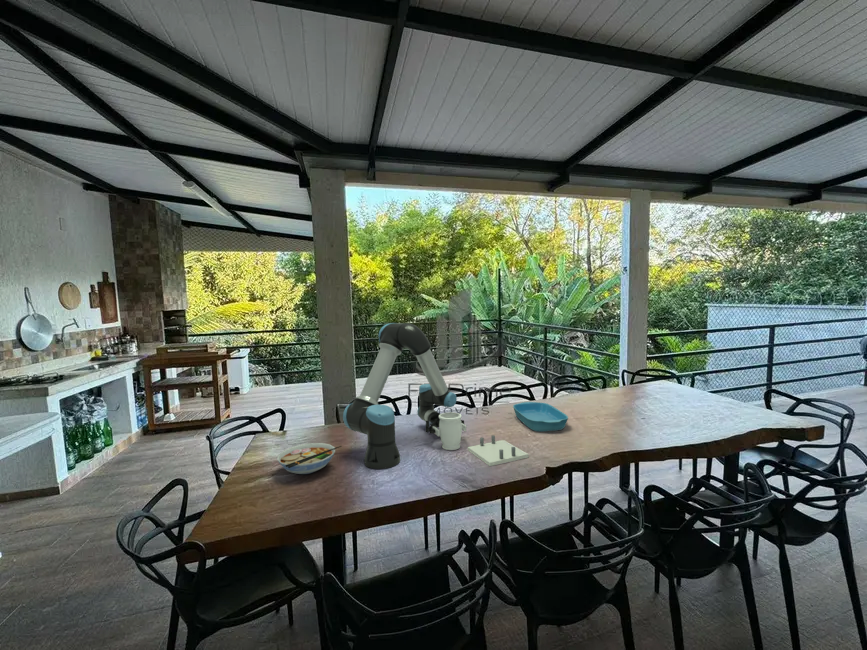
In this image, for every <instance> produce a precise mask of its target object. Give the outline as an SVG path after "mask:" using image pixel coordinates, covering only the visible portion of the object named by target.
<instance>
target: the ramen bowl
mask: <svg viewBox="0 0 867 650" xmlns="http://www.w3.org/2000/svg"><path fill="white" fill-rule="evenodd" d="M341 447H342V445H338V446H336V447H335V446H333V445H331V444H330V443H325V442H312V443H303V444H298V445H296V446H292V447H289V448H287V449H284V450H283V451H281V452H280V453H279V454H278V455H277V458H276V460H277V462H278V464H280V465H281V467H283V469H284V470H286V471H287V472H289V473H292V474H297V475H298V474H299V475H309V474H310V475H311V474H313V473H314V472H317V471H319V470H322V469H323V468H324V467H326V466H327V465H328V464H329V463H330V461H331V460H332V458H333V457H334V454H335V453H336V450H337V449H339V448H341Z"/></svg>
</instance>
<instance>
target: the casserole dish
mask: <svg viewBox="0 0 867 650" xmlns="http://www.w3.org/2000/svg"><path fill="white" fill-rule="evenodd" d="M512 408H513V411H514V413H515V416H516V417H517V419H518V420H519V421H520V422H522V423H523V424H524V425H525V426H526V427H528V429H530V430H532V431H533V432H540V433H541V432H542V433H543V432H555V431H561V430H563V429H564V428H565V427H566V425H567V423H568V420H569V416H568V415H567V414H566V413H564V412H563V411H561V410H559V408H556V407H555V406H553V405H551V404H549V403H547V402H535V401H524V402H523V401H522V402H520V403H516V404H513V405H512Z"/></svg>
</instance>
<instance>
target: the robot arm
mask: <svg viewBox="0 0 867 650" xmlns="http://www.w3.org/2000/svg"><path fill="white" fill-rule="evenodd" d="M377 336H378V342H379V343H378V346H379V348H380V349H379V351H378V353H377V356H376V358H375V360H374V363H373V366H372V368H371V370H370V372H369V374H368V376H367V379H366V381H365V382H364V383H365V384H364V385H363V388H362V390H361V392H360V395H358V396H356V397H355V398H354V399H353V402H352V403H349V404H348V405H346V407H344V408H345V409H344V410H343V413H342V419H343V423H344V426H345V427H346V428H347V429H348V430H349V429H350V430H351V431H353V432H356V433H357V432H358V433H360V434H362V435H363V434H364V435H367V446H366V447H367V448H366V451H365V454H364V459H363V461H364V465H365V466H366V467H367V468H370V469H373V470H374V469H375V470H381V469H382V470H384V469H389V468H392V467H396V466H397V465H398V464H399V463H400V462H401V455H400V451H399V449H398V446H397V442H396V424H395V423H396V418H395V417H396V416H395V411H394V409H393V408H392V407H390V406H388V405H385V404H379V401H380V398H381V395H382V392H383V391H384V387H385V385H386V384H387V383H386V382H387V381H388V378H389V376H390V373H391V371H392V369H393V365H394V364H395V361H396V358H397V356H400V355H401V354H402V352H403V350H404V348H405V349H408V350H409V351H410V352H411V354H412V355H413V356H415V357H416V359H417V361H418V363H419V365H420V367H421V370H422V371H423V374H424V375H425V378H426V380H427V383H423V384H421V385H419V387H418V389H419V390H418V398H419V407H418V409H417V411H416V412H417V413H416V414H417V416H418V417H419V418H420V420H422V421H424V422H425V433H429V435H431V434H434V435H436V436H437V437H440V430H439V422H440V419H439V415H440V414H441V413H440V412H438V411H437V410H436V409H434V406H436V405H437V406H440V407H445V408H453V407H454V406H455V405H456V403H457V400H458V399H457V397H458V396H457V395H456V393H454V392H452V391H450V389H449V387H448V386H447V384H446V382H445V381H446V380H445V379H444V377H443V374H442V372H441V370H440V368H439V365H438V363H437V361H436V359H435V356H434V355H433V352H432V350H431V348H432V346H431V342H430V341H429V339H428V338H427V336H426V334H425V333H424V331H422V330H421V328H419V327H418V326H417V325H415V324H414V323H408V322H407V323H400V322H398V323H397V322H392V323H391V322H390V323H387V324H384V325H383V326H382V327H381V328H380V329H379V332H378V335H377ZM461 423H462V432H463V431H464V432H467V425H466V424H465V420H463V419H461Z"/></svg>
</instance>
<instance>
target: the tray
mask: <svg viewBox="0 0 867 650" xmlns="http://www.w3.org/2000/svg"><path fill="white" fill-rule="evenodd" d="M484 442H485V439H484V437H480V438H479V444H476V445H471V446H468V447H467V451H468V452H470V453H471V454H473V456H475V457H477V458H478V459H479V460H481V461H482V462H483V463H485V464H486V465H487V466H488V467H494V466H497V465H501V464H505V463H510V462H511V463H512V462H515V461H519V460H524V459H529V453H528V452H525V451H523V450H522V449H521V448H519V447H516V446H515V445H513V444H511V443H509V442H508V441H507V440H505V439H500V440H496V435H494V434H492V435H491V442H486V443H484Z"/></svg>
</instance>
